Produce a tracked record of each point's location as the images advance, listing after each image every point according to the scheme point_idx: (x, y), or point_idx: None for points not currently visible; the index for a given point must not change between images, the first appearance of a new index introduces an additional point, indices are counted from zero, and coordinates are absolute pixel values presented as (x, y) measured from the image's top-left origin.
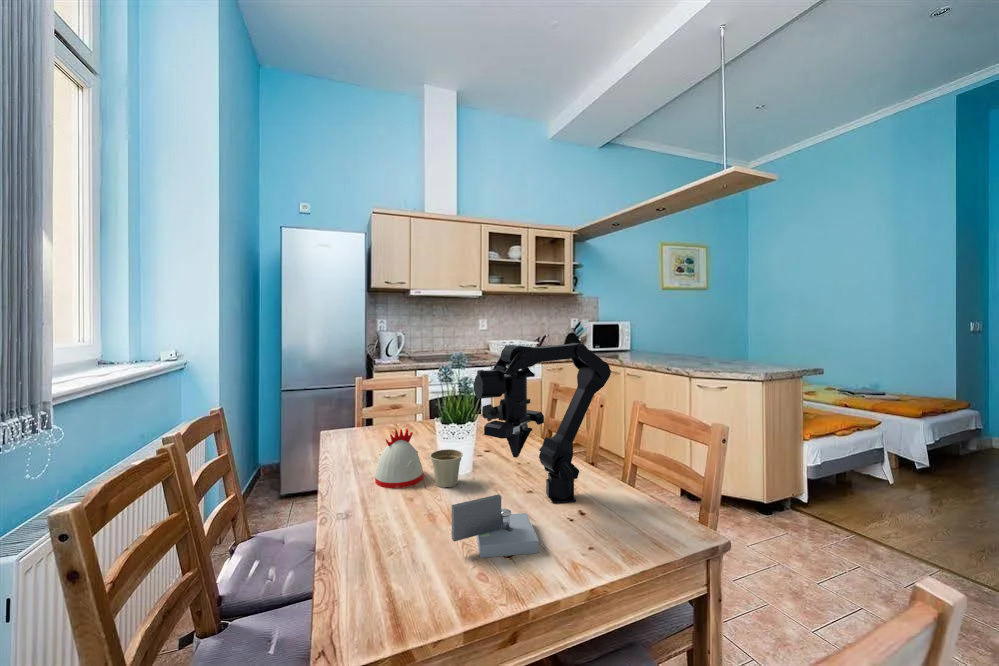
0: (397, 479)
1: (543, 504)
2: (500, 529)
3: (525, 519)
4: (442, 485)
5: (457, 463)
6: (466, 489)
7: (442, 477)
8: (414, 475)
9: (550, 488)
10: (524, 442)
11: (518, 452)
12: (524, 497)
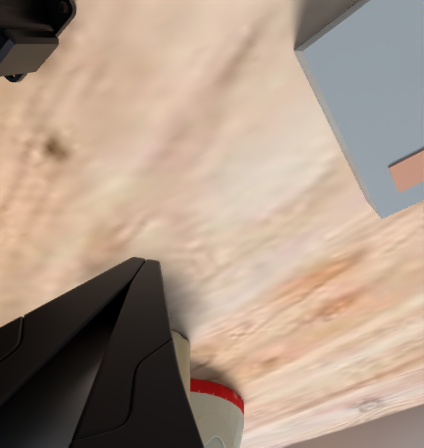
0: (234, 412)
1: (110, 51)
2: None
3: (370, 24)
4: (188, 347)
5: None
6: None
7: (188, 367)
8: (201, 401)
9: (27, 32)
10: (10, 335)
11: (141, 281)
12: (107, 148)
